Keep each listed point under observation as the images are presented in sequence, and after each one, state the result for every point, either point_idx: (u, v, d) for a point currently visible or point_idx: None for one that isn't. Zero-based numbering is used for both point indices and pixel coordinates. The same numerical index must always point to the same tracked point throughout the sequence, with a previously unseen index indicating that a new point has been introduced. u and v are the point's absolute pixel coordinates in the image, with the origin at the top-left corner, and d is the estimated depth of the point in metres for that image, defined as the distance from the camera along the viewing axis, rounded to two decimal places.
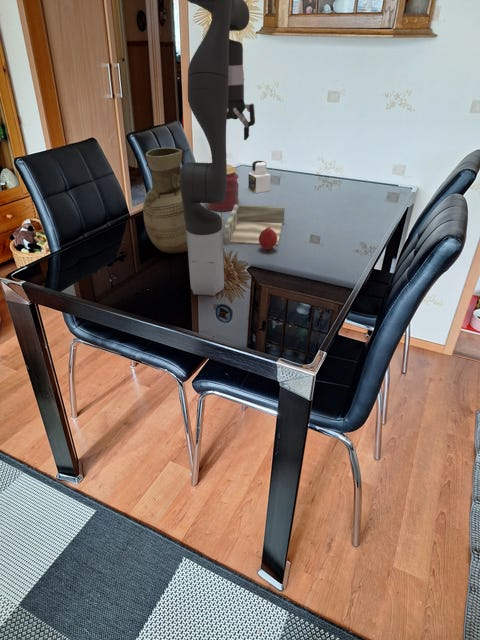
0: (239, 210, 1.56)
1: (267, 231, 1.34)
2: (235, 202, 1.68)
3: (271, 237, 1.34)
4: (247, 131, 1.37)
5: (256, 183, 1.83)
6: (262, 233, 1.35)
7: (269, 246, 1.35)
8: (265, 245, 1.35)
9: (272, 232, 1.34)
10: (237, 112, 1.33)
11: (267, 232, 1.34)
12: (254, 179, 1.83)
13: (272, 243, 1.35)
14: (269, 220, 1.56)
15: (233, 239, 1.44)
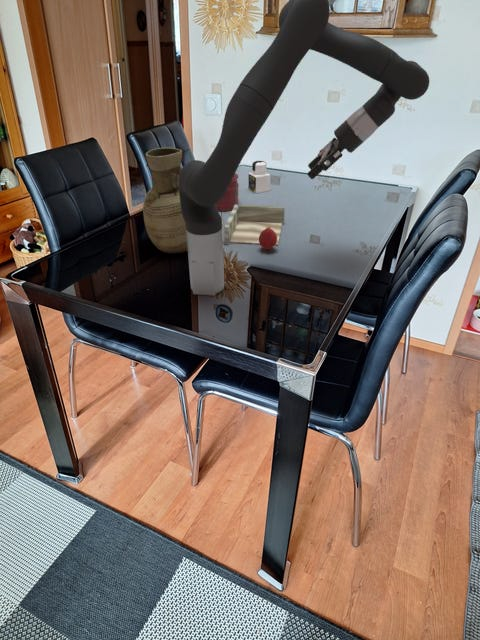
0: (239, 210, 1.56)
1: (267, 231, 1.34)
2: (235, 202, 1.68)
3: (271, 237, 1.34)
4: (315, 169, 1.18)
5: (256, 183, 1.83)
6: (262, 233, 1.35)
7: (269, 246, 1.35)
8: (265, 245, 1.35)
9: (272, 232, 1.34)
10: (328, 148, 1.17)
11: (267, 232, 1.34)
12: (254, 179, 1.83)
13: (272, 243, 1.35)
14: (269, 220, 1.56)
15: (233, 239, 1.44)
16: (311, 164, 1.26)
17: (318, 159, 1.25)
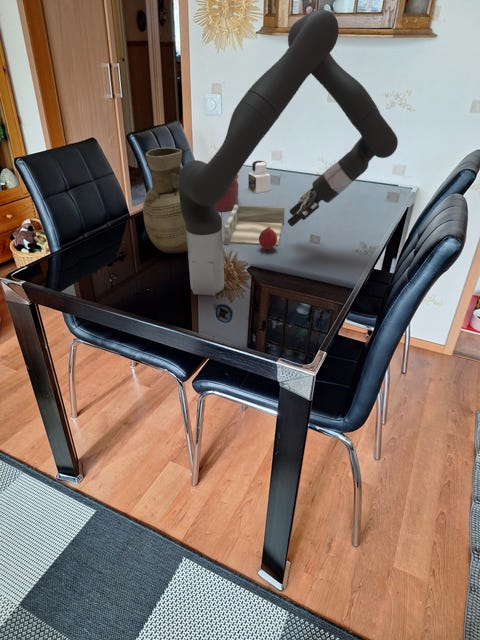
0: (239, 210, 1.56)
1: (267, 231, 1.34)
2: (235, 202, 1.68)
3: (271, 237, 1.34)
4: (294, 217, 1.26)
5: (256, 183, 1.83)
6: (262, 233, 1.35)
7: (269, 246, 1.35)
8: (265, 245, 1.35)
9: (272, 232, 1.34)
10: (306, 198, 1.25)
11: (267, 232, 1.34)
12: (254, 179, 1.83)
13: (272, 243, 1.35)
14: (269, 220, 1.56)
15: (233, 239, 1.44)
16: (292, 210, 1.34)
17: (299, 206, 1.33)
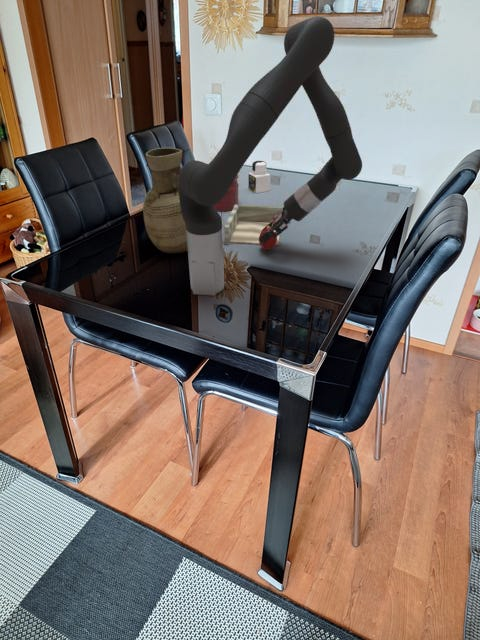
0: (239, 210, 1.56)
1: None
2: (235, 202, 1.68)
3: (271, 237, 1.34)
4: (265, 235, 1.32)
5: (256, 183, 1.83)
6: (262, 233, 1.35)
7: (269, 246, 1.35)
8: (265, 245, 1.35)
9: None
10: (278, 217, 1.30)
11: None
12: (254, 179, 1.83)
13: (272, 243, 1.35)
14: (269, 220, 1.56)
15: (233, 239, 1.44)
16: None
17: (270, 226, 1.37)
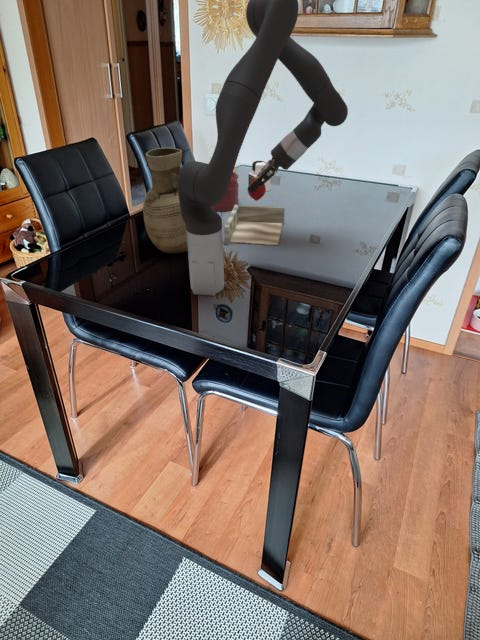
0: (239, 210, 1.56)
1: None
2: (235, 202, 1.68)
3: (259, 186, 1.37)
4: (253, 184, 1.35)
5: None
6: (251, 183, 1.38)
7: (257, 196, 1.39)
8: (254, 195, 1.38)
9: None
10: (265, 166, 1.34)
11: None
12: None
13: (260, 193, 1.38)
14: (269, 220, 1.56)
15: (233, 239, 1.44)
16: None
17: (259, 177, 1.40)
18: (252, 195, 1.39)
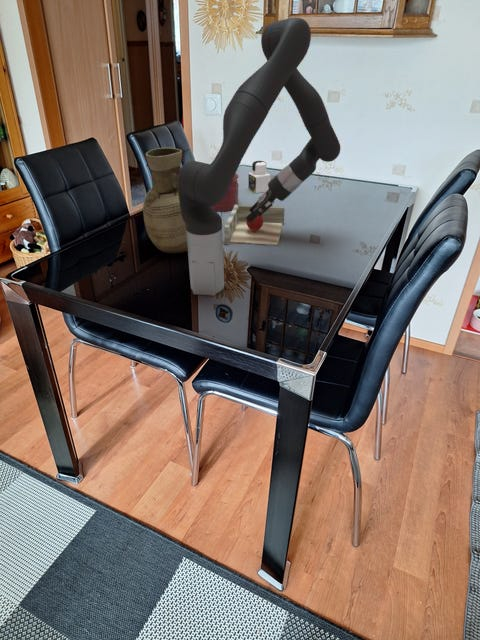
0: (239, 210, 1.56)
1: None
2: (235, 202, 1.68)
3: (257, 218, 1.44)
4: (251, 214, 1.41)
5: (256, 183, 1.83)
6: None
7: (255, 228, 1.46)
8: (252, 226, 1.45)
9: None
10: (263, 197, 1.40)
11: None
12: (254, 179, 1.83)
13: (258, 224, 1.45)
14: (269, 220, 1.56)
15: (233, 239, 1.44)
16: (252, 208, 1.48)
17: (257, 205, 1.47)
18: (250, 227, 1.46)
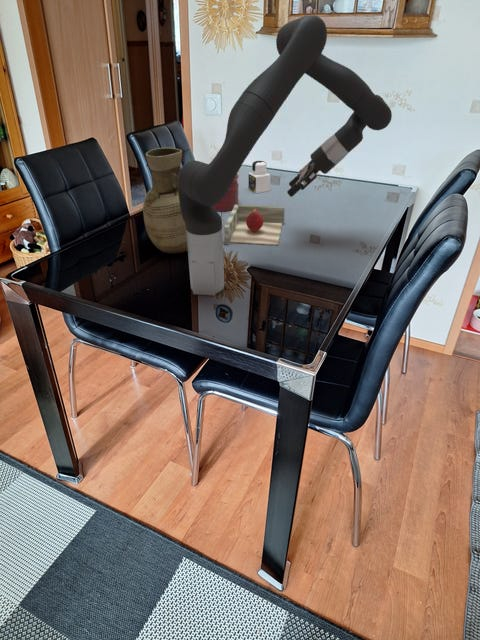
0: (239, 210, 1.56)
1: (253, 214, 1.44)
2: (235, 202, 1.68)
3: (257, 219, 1.44)
4: (293, 188, 1.33)
5: (256, 183, 1.83)
6: (249, 216, 1.45)
7: (255, 228, 1.46)
8: (252, 227, 1.45)
9: (258, 215, 1.45)
10: (305, 169, 1.33)
11: (254, 215, 1.44)
12: (254, 179, 1.83)
13: (258, 225, 1.45)
14: (269, 220, 1.56)
15: (233, 239, 1.44)
16: (291, 182, 1.41)
17: (298, 178, 1.40)
18: (250, 227, 1.46)
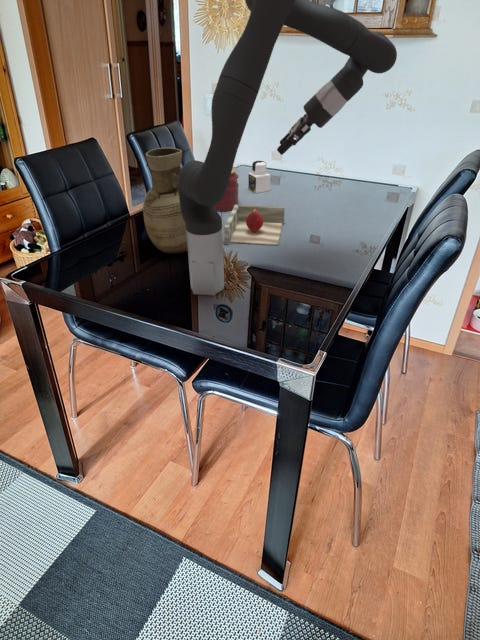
0: (239, 210, 1.56)
1: (253, 214, 1.44)
2: (235, 202, 1.68)
3: (257, 219, 1.44)
4: (284, 144, 1.17)
5: (256, 183, 1.83)
6: (249, 216, 1.45)
7: (255, 229, 1.46)
8: (252, 227, 1.45)
9: (258, 215, 1.45)
10: (297, 123, 1.16)
11: (254, 215, 1.44)
12: (253, 179, 1.83)
13: (258, 225, 1.45)
14: (269, 220, 1.56)
15: (233, 239, 1.44)
16: (283, 141, 1.25)
17: (289, 135, 1.24)
18: (250, 227, 1.46)
